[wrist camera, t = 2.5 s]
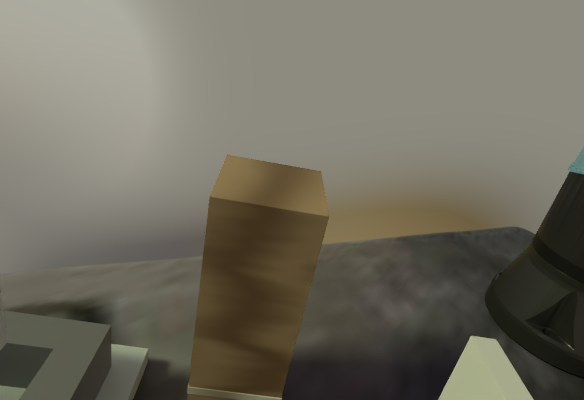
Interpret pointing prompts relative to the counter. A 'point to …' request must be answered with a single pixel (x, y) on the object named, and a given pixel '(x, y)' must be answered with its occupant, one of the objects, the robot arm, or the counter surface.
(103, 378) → the socket board
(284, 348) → the walnut peg
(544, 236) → the robot arm
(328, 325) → the counter surface
